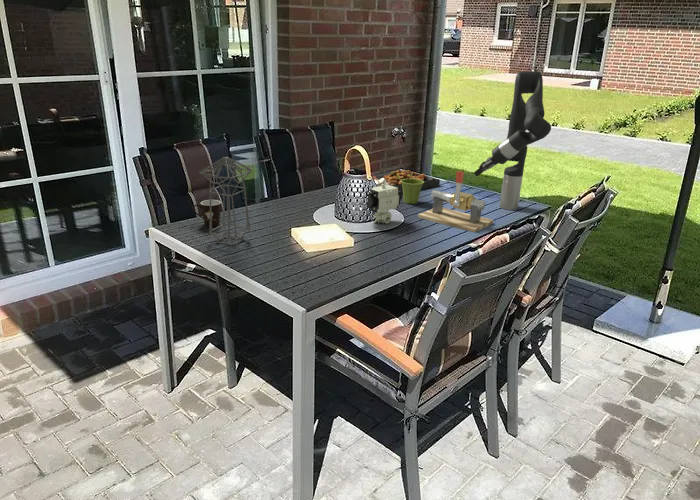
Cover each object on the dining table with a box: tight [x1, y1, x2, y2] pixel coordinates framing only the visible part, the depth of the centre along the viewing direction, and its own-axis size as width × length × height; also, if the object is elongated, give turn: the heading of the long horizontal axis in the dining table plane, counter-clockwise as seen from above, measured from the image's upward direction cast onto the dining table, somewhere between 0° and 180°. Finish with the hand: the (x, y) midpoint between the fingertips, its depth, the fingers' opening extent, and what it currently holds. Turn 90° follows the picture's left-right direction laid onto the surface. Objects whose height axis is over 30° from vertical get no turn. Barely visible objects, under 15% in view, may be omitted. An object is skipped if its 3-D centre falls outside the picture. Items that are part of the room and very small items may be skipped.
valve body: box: [430, 189, 486, 224], centre depth 256 cm, size 8×26×12 cm, turn 50°
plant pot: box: [401, 179, 424, 205], centre depth 283 cm, size 12×12×11 cm
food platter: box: [363, 169, 441, 194], centre depth 313 cm, size 45×25×10 cm, turn 128°
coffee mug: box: [192, 199, 222, 228], centre depth 241 cm, size 12×9×10 cm
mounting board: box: [417, 207, 494, 233], centre depth 259 cm, size 18×30×2 cm, turn 50°
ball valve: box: [367, 184, 403, 224], centre depth 250 cm, size 18×8×18 cm, turn 127°
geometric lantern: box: [199, 156, 253, 246], centre depth 217 cm, size 16×16×35 cm
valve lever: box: [452, 170, 465, 207], centre depth 247 cm, size 2×3×16 cm, turn 50°
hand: (475, 174), depth 240 cm, fingers closed
